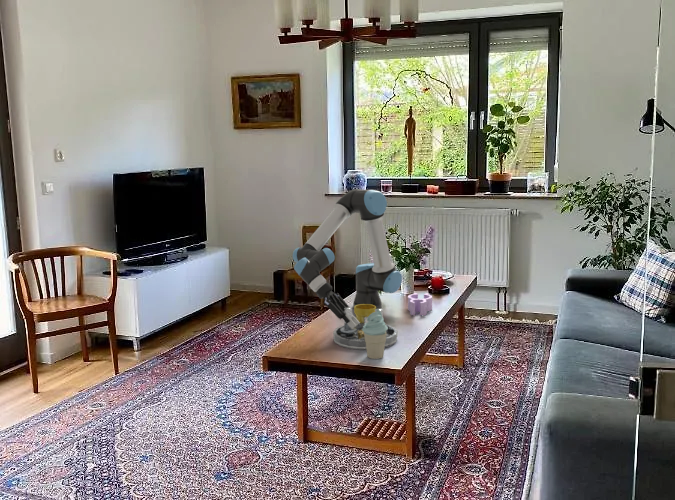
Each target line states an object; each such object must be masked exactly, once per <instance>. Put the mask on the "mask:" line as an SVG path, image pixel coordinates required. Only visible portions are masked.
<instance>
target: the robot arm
mask: <svg viewBox="0 0 675 500" xmlns="http://www.w3.org/2000/svg"><path fill="white" fill-rule="evenodd" d="M387 206H388V201H387V199H386V196H385V195H384V193H382V192H381V191H380V190H374V189H360V188H354V189H352V190H349V191H347V192H346V193H345V194H344V195H342V196H341V197H340V198H339V199H338V200H337V201H336V203H335V204H334V205H333V210H332V211H331V212H330V213H329V214H328V215H327V217H326V218H325V219H324V220H323V222H322V223H321V224H320V225H319V226H318V228H316V229H315V231H314V232H313V234H312V235H311V236H310V237H309V239H308V240H307V241H306V242H305V243H304V245H302V247H297V248H295V249H294V250H293V252H292V259H293V261H294V262H295V264H294V267H293V269H294V271H295V272H296V274H297V275H298V276H299V277H300V278H301V279H302V280H303V281H304V282H305V283H306V284H307V285H308V286H309V289H311V290H312V291H313V292H314V293H315V294H316V295H317V297H318V298H319V299H324V302H323V305H324V306H326V307H327V308H328V309H329V310H330V311H331V312H332V313H333V314H334V315H335V317H337V318H338V319H339V320H343V322H344V321H345V322H346V323H347V324H348V325H349V326H350V328H351V329H353V328H354V327H356V326H357V325H358V324H359V323H360V322H359V321H358V320H357V318H356V315H355V314H353V313H352V319H351V318H350V317H349V316H348V315H347V314H346V315H345V313H344V308H347V307H349V308H351V307H350V306H349V305H348V303H346V301H345V300H344V298H343V297H341V295H340V293H338V292H337V293H335V292H333V291H332V290H333V286H332V285H331V284H330V283H329V282H328V281H327V279H326V278H325V277H324V276H323V275H322V274H321V273H320V272H322V271H323V270H325V269H326V268H327V267H328V266H330V265H331V264H332V263H333V262H334V261H335V258H336V256H335V253H334V252H333V250H331V249H330V248H328V247H324V246H325V245H326V243H327V242H328V241H329V240H330V238H331V237H332V236H333V235H334V234H335V232H337V230H338V229H339V227H340V226H342V224H343V222H344V221H345V220H347V219H349V218H350V217H352V215H353V214H359V216H360V220H361V221H362V222H364V225H365V229H366V230H365V231H366V233H367V238H368V239H367V240H368V242H369V243H368V244H369V248H370V252H371V256H372V263H363V264H358V265H357V266H356V267H355V290H356V291H355V296H354V300H353V301H352V303H353V304H352V307H353V309H354V306H356V305H359V304H371V305H375V306H376V309H383V308H382V307H383V302H382V299H381V295H380V294H379V292H383V293H385V294H394V293H396V292H397V291H398V290H399V289H400V288H401V285H402V282H403V276H402V274H401V272H400V271H399V270H396V265H395V263H394V262H392V261H391V255H390V250H389V246H388V241H387V237H386V232H385V226H384V222H383V218H384V216H385V212H386V210H387ZM323 247H324V248H323ZM322 248H323V249H322Z"/></svg>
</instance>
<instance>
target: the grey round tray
mask: <svg viewBox="0 0 675 500" xmlns="http://www.w3.org/2000/svg"><path fill="white" fill-rule="evenodd" d="M378 310H380V312H381V314H382V317H383V318H384V309H383V308H380V309H378ZM375 312H377V309H375ZM367 318H368V317H365V318H364V323H359V324H358V325H357V326H356V327H354V328H356V333H355V334H350V335H346V334H342V333H341V330H340V329H341V328H343V327H344V324H343V325H341V326H338V327H336V328H335V329H334V331H333V332H332V333H333V342H334V343H335V344H336V345H337V346H340V347H343V348H346V349H350V350H360V351H361V350H363V351H364V350H365V351H367V348H366V342H365V336H364V331H362V329H363V326H365V323H368V321H367ZM385 325H386V326H387V327H388V329H387V330H386V342H385V347H384V348H388V347H390V346H393V345H394V344H396V343H397V341H398V330H397V328H396V327H393V326H391V325H390V324H385Z"/></svg>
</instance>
